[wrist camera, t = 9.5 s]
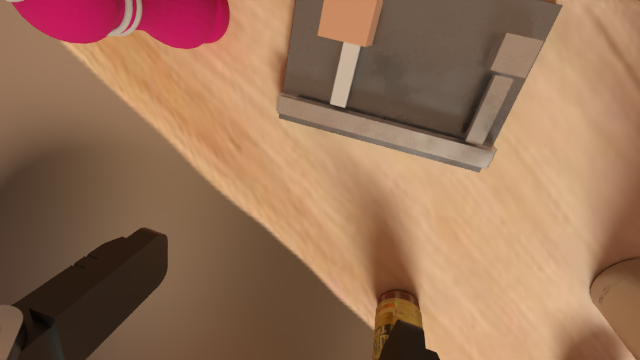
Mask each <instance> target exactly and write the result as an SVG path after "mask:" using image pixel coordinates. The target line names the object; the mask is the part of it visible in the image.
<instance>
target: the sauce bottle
mask: <svg viewBox="0 0 640 360" xmlns="http://www.w3.org/2000/svg"><path fill="white" fill-rule="evenodd" d="M398 319H399V320H402V321H405V322H408V323H411V324H413V325H416V326H419V327H422V328H423V326H422V315H421V312H420V307H419V304H418V301H417V300H416V299H415V298H414V296H412V295H411V294H409V293H406V292H403V291H398V290H396V291H390V292H387V293H385V294H383V295H382V296H381V298H380V299H379V301H378V305H377V308H376V316H375V330H374V343H373V355H372V360H379V357H380V353H381V350H382V348H383V346H384V344H385V342H386V340H387V338H388V336H389V334H390V332H391V330H392V328H393V326H394V324H395V322H396V321H397V320H398Z"/></svg>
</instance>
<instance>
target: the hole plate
mask: <svg viewBox="0 0 640 360" xmlns="http://www.w3.org/2000/svg"><path fill="white" fill-rule="evenodd" d="M323 3H324V0H296V5H295V12H294V19H293V25H292V32H291V39H290V46H289V52H288V59H287V66H286V73H285V79H284V86H283V90H282V91H280V92H279V93H278V100H277V107H276V111H278V112H277V113H279V118H280V119H284V120H288V121H291V122H295V123H299V124H302V125H306V126H310V127H314V128H317V129H321V130H325V131H328V132H332V133H336V134H339V135H343V136H347V137H350V138H354V139H358V140H361V141H365V142H369V143H373V144H376V145H380V146H384V147H387V148H391V149H395V150H398V151H402V152H406V153H409V154H413V155H417V156H420V157H424V158H428V159H432V160H435V161H439V162H443V163H446V164H450V165H454V166H457V167H461V168H465V169H468V170H472V171H476V172H480V170H481V168H485V169H486V168H487V167H488V166H489V165H490V163H491V161H492V159H493V157H494V155H495V153H496V151H497V149H496V148H495V147H494V146H493V144H494V142H495V140H496V138H497V136H498V134H499V132H500V130H501V128H502V126H503V124H504V122H505V120H506V118H507V116H508V114H509V112H510V110H511V108H512V106H513V104H514V102H515V100H516V98H517V96H518V94H519V92H520V90H521V88H522V86H523V84H524V82H525V80H526V78H527V76H528V74H529V72H530V70H531V68H532V66H533V64H534V62H535V60H536V58H537V56H538V54H539V52H540V50H541V48H542V46H543V44H544V42H545V40H546V38H547V36H548V34H549V32H550V30H551V28H552V26H553V24H554V22H555V20H556V18H557V16H558V14H559V12H560V10H561V8H562V6H563V5H559V4H554V3H549V2H544V1H540V0H383V5H382V9H381V13H380V16H379V20H378V24H377V28H376V32H375V36H374V39H373V43H372V45H371V46H367V47H363V46H361V48H360V52H359V56H358V60H357V64H356V68H355V72H354V76H353V80H352V84H351V88H350V92H349V96H348V100H347V104H346V107H345V108H343V107H339V106H335V105H332V104H330V101H331V97H332V92H333V88H334V83H335V79H336V74H337V70H338V65H339V61H340V56H341V52H342V47H343V43H344V42H342V41H338V40H334V39H329V38H325V37H321V36H317V35H318V30H319V24H320V19H321V14H322V8H323Z"/></svg>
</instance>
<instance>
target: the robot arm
mask: <svg viewBox="0 0 640 360" xmlns="http://www.w3.org/2000/svg"><path fill="white" fill-rule="evenodd" d="M167 248H168V240H167V236H166V235H164V234H162V233H159V232H156V231H154V230H151V229H148V228H141V229H139V230H137V231H136V232H134V233H133V234H132V235H130V236H129V237H127V238H124V237H120V238H117V239H115V240H112V241H109V242H107V243H104V244H102V245H101V246H99V247H98V248H96V249H95V250H93V251H92V252H90V253H89V254H88V255H87V257H83V258H82V259H80V260H79V261H77V262H76V263H75V264H74V265H73V266H70V267H69V268H67V269H65V270H64V271H62V272H61V273H59V274H58V275H56V276H55V277H54V278H52V279H50V280H49V281H48V282H46V283H45V284H43V285H42V286H40V287H39V288H37V289H36V290H34V291H33V292H31V293H30V294H28V295H27V296H25V297H24V298H23V299H21V300H20V301H18V302H16V303H15V304H13V305H11V306H8V305H0V360H85V359H86V358H88V357H89V356H90V355H91V354H92V353H93V352H94V351H95V349H97V348H98V346H100V345H101V343H103V341H104V340H105V339H106V338H107V337H108V336H109V335H110V334H111V333H112V332H113V331H114V330H115V329H116V328H117V327H118V326H119V325H120V324H121V323H122V322H123V321H124V320H125V319H126V318H127V317H128V316H129V315H130V314H131V313H132V312H133V311H134V310H135V309H136V308H137V307H138V306H139V305H140V304H141V303H142V302H143V301H144V300H145V299H146V298H147V297H148V296H149V295H150V294H151V293H152V292H153V291H154V290H155V289H156V288H157V287H158V286H159V285H160V284H161V282H162V280H163V279H164V277H165V275H166V272H167V266H168V257H167V256H168V249H167ZM590 295H591V299H592V302H593V303H594V304H595V306H596V307H597V308H598V310H599V311H600V312H601V314H602V315H603V316H604V318H605V319H606V320H607V322H608V323H609V324H610V326H611V327H612V328H613V330H614V331H615V333H616V334H617V335H618V337H619V338H620V339H621V341H622V342H623V343H624V344H625V346H626V347H627V348H628V350H629V351H630V352H631V354H632V355H633V356H634V358H635V359H636V360H640V258H638V259H631V260H627V261H624V262H620V263H618V264H615V265H613V266H611V267H609V268H608V269H606V270H605V271H603V272H602V273H601V274H600V275H599V276H598V277H597V278H596V279H595V281H594V282H593V284H592V287H591V290H590ZM379 360H440V359H439V357H438V354H437V353H436V352H434V351H431V350H428V349H426V348H425V337H424V330H423V328H422V327H419V326H416V325H413V324H411V323H408V322H405V321H402V320H399V319H398V320H397V321H396V322H395V324H394V326H393V328H392V330H391V332H390V334H389V336H388V338H387V340H386V342H385V344H384V346H383V348H382V350H381V353H380V357H379Z"/></svg>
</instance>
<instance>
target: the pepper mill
mask: <svg viewBox="0 0 640 360" xmlns="http://www.w3.org/2000/svg"><path fill="white" fill-rule="evenodd" d="M6 1H11V2H12V4H13V5H14V7H15V8H16V9H17V10H18V12H19V13H20V14H21V16H22V17H24V19H26V20H27V21H28V22H29V23H30V24H31V25H32V26H34V27H35V28H37V29H38V30H40V31H41V32H43V33H45V34H46V35H49V36H51V37H53V38H56V39H58V40H62V41H66V42H70V43H85V44H86V43H92V42H97V41H99V40H101V39H103V38H105V37H106V36H125V35H128V34H130V33H132V32H133V31H134V30H143V31H146V32H147V33H148V34H150V35H151V36H152V37H154V38H155V39H157V40H158V41H160V42H162V43H164V44H166V45H169V46H171V47H175V48H182V49H191V48H195V47H198V46H200V45H202V44H203V43H213V42H215V41H217V40H219V39H220V38H221V37H222V36H223V35H224V34H225V32H226V30H227V27H228V24H229V7H228V3H227V0H6Z"/></svg>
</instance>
